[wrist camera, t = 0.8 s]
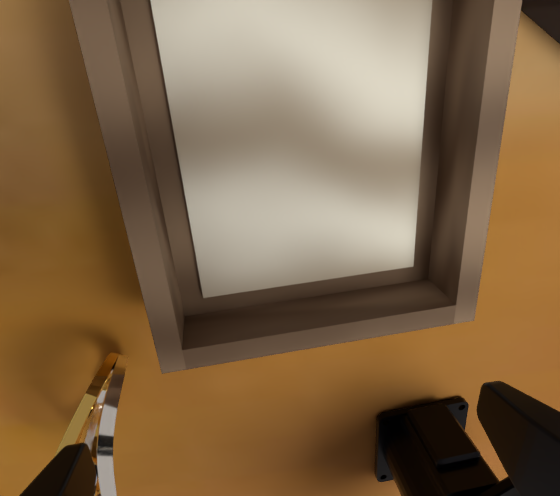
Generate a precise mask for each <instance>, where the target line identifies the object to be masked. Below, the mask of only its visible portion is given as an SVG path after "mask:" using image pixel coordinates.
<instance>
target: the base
mask: <svg viewBox="0 0 560 496" xmlns="http://www.w3.org/2000/svg"><path fill="white" fill-rule="evenodd" d="M69 3H70V7H71V11H72V15H73V19H74V23H75V27H76V31H77V35H78V39H79V43H80V47H81V51H82V55H83V59H84V63H85V67H86V71H87V75H88V79H89V83H90V87H91V91H92V95H93V99H94V103H95V107H96V111H97V115H98V119H99V123H100V127H101V131H102V135H103V139H104V144H105V148H106V152H107V156H108V160H109V164H110V168H111V172H112V176H113V180H114V184H115V188H116V192H117V196H118V200H119V204H120V208H121V212H122V216H123V220H124V224H125V228H126V232H127V236H128V240H129V244H130V248H131V252H132V256H133V260H134V264H135V268H136V272H137V276H138V280H139V284H140V288H141V292H142V296H143V300H144V304H145V308H146V312H147V316H148V320H149V324H150V328H151V332H152V336H153V340H154V344H155V348H156V352H157V356H158V360H159V364H160V368H161V372H162V374H163V373H169V372H175V371H181V370H186V369H192V368H198V367H204V366H210V365H216V364H222V363H227V362H233V361H239V360H245V359H251V358H257V357H263V356H269V355H274V354H280V353H286V352H292V351H298V350H304V349H310V348H315V347H321V346H327V345H333V344H339V343H345V342H351V341H357V340H362V339H368V338H374V337H380V336H386V335H392V334H398V333H403V332H409V331H415V330H421V329H427V328H433V327H439V326H445V325H450V324H456V323H462V322H468V321H474V318H475V312H476V305H477V298H478V292H479V285H480V278H481V272H482V265H483V258H484V252H485V245H486V238H487V232H488V225H489V219H490V212H491V205H492V199H493V192H494V185H495V179H496V172H497V165H498V159H499V152H500V145H501V139H502V132H503V125H504V119H505V112H506V106H507V99H508V92H509V86H510V79H511V72H512V66H513V59H514V52H515V46H516V39H517V32H518V26H519V19H520V12H521V6H522V0H69Z"/></svg>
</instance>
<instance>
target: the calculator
mask: <svg viewBox="0 0 560 496" xmlns="http://www.w3.org/2000/svg"><path fill="white" fill-rule="evenodd" d="M521 10H522V11H523V12H524V13H525V14H526V15H527V16H528V17H529V18H531V19H532V20H533V21H534V22H535V23H536V24H538V25H539V26H540V27H541V28H542V29H543V30H544V31H546V32H547V33H548V34H549V35H550V36H551V37H553V38H554V39H555V40H556V41H557V42H558V43H560V0H522V6H521Z"/></svg>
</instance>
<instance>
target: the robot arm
mask: <svg viewBox="0 0 560 496" xmlns="http://www.w3.org/2000/svg"><path fill="white" fill-rule="evenodd" d="M467 412H468V403H467V402H466V401H465V399H464V398H456V399H451V400H445V401H440V402H435V403H430V404H425V405H420V406H415V407H409V408H404V409H399V410H394V411H389V412H384V413H381V414H380V415H379V416H378V417H377V425H376V454H375V476H376V478H377V480H378V481H379V482H384V481H389V480H394V481H395V483H396V485H397V487H398V489H399V491H400V494H401V496H560V412H559V411H557V410H555V409H553V408H552V407H550V406H548V405H546V404H544V403H542V402H540V401H538V400H536V399H534V398H532V397H531V396H529V395H527V394H525V393H523V392H521V391H519V390H517V389H515V388H513V387H511V386H510V385H508V384H506V383H504V382H501V381H494V382H487V383H484V384H483V385H482V387H481V390H480V395H479V400H478V404H477V415H478V418H479V421H480V422H481V424H482V426H483V428H484V430H485V432H486V434H487V436H488V438H489V440H490V442H491V444H492V446H493V448H494V449H495V451H496V453H497V455H498V457H499V459H500V461H501V463H502V465H503V467H504V469H505V471H506V472H507V474H508V477H507V478H505V479H503V480H502V481H499V480H498V478H497V477H496V476H495V474H494V473H493V471H492V470H491V469H490V467H489V466H488V464H487V463H486V462H485V460H484V459H483V457H482V456H481V455H480V452H479V450H478V449H477V447H476V446H475V445H474V443H473V442H472V440H471V439H470V438H469V436H468V435H467V433H466V432H465V425H466V418H467ZM95 483H96V469H95V466H94V462H93V459H92V456H91V453H90V449H89V447H88V445H87V444H86V443H77V444H71V445H67V446H65V447H64V448H62V449H61V450H60V452H59V453H58V454H57V455H56V456H55V457H54V458H53V459H52V460H51V461H50V463H49V464H48V465H47V466H46V467H45V468H44V469H43V470H42V471H41V472H40V474H39V475H38V476H37V477H36V478H35V479H34V480H33V481H32V482H31V483H30V485H29V486H28V487H27V488H26V489H25V490H24V491H23V492H22V493H21V494H20V496H94V490H95Z"/></svg>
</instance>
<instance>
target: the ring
mask: <svg viewBox="0 0 560 496" xmlns="http://www.w3.org/2000/svg"><path fill="white" fill-rule="evenodd" d="M127 362H128V356H124V355H120V354H118V353H114V352H111V353H110V354H109V355H108V356H107V358H106V359H105V361H104V363H103V364H102V366H101V367H100V369H99V371H98V372H97V374H96V376H95V377H94V379H93V381H92V383H91V384H90V386H89V388H88V390H87V392H86V393H85V395H84V397H83V399H82V401H81V403H80V405H79V407H78V408H77V410H76V412H75V414H74V416H73V418H72V420H71V422H70V424H69V426H68V428H67V430H66V432H65V435H64V437H63V439H62V441H61V443H60V445H59V448H58V450H57V452H56V454H55V456H56V455H57V454H58V453H59V452H60V450H61V449H62V448H64V447H65V446H67V445H71V444H77V443H79V441H80V438H81V435H82V433H83V430H84V427H85V425H86V422H87V420H88V418H89V416H90V413H91V411H92V409H93V407H94V405H95V407H94V410H93V413H92V416H91V420H90V423H89V426H88V429H87V432H86V435H85V438H84V441H83V443H86V444H87V445H88V447H89V449H90V453H91V456H92V459H93V462H94V466H95V469H96V483H95V490H94V496H117V495H116V487H115V479H114V470H113V437H114V427H115V419H116V413H117V407H118V402H119V397H120V393H121V388H122V384H123V380H124V376H125V371H126V367H127ZM95 403H96V404H95ZM98 478H99V483H98ZM99 485H100V489H99Z"/></svg>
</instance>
